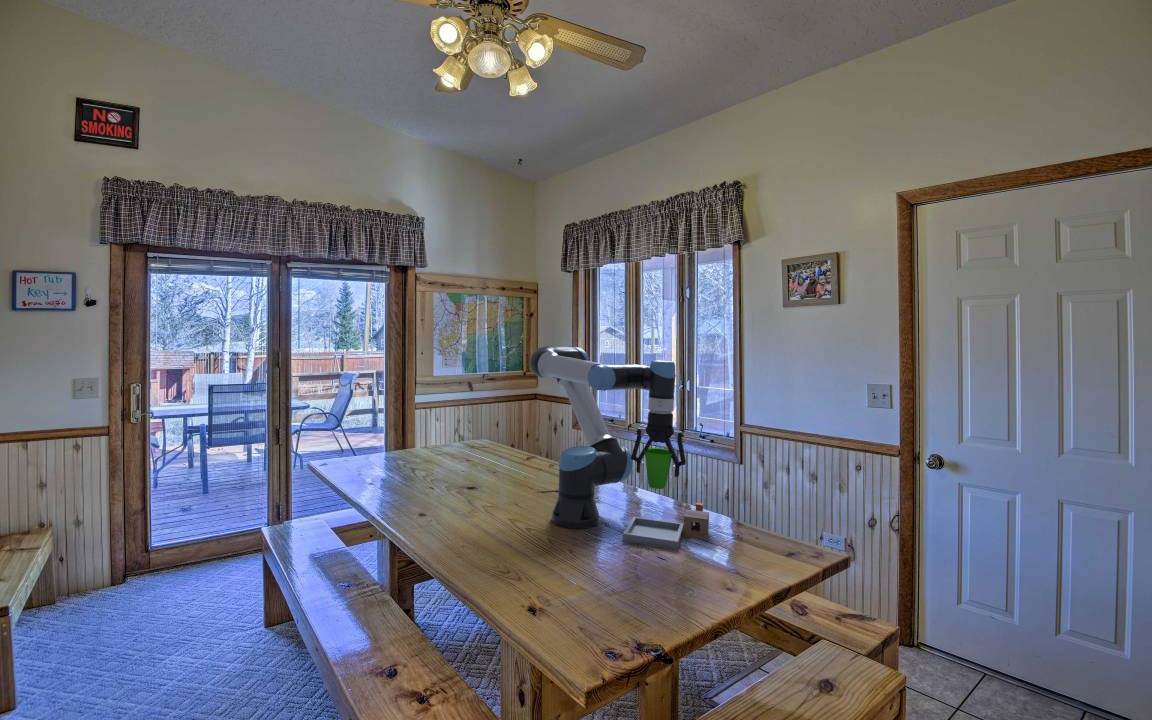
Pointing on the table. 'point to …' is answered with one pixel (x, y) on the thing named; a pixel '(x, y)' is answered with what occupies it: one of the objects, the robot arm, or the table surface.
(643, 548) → the table surface
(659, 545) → the tray
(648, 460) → the cup
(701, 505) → the pin
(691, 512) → the mount
